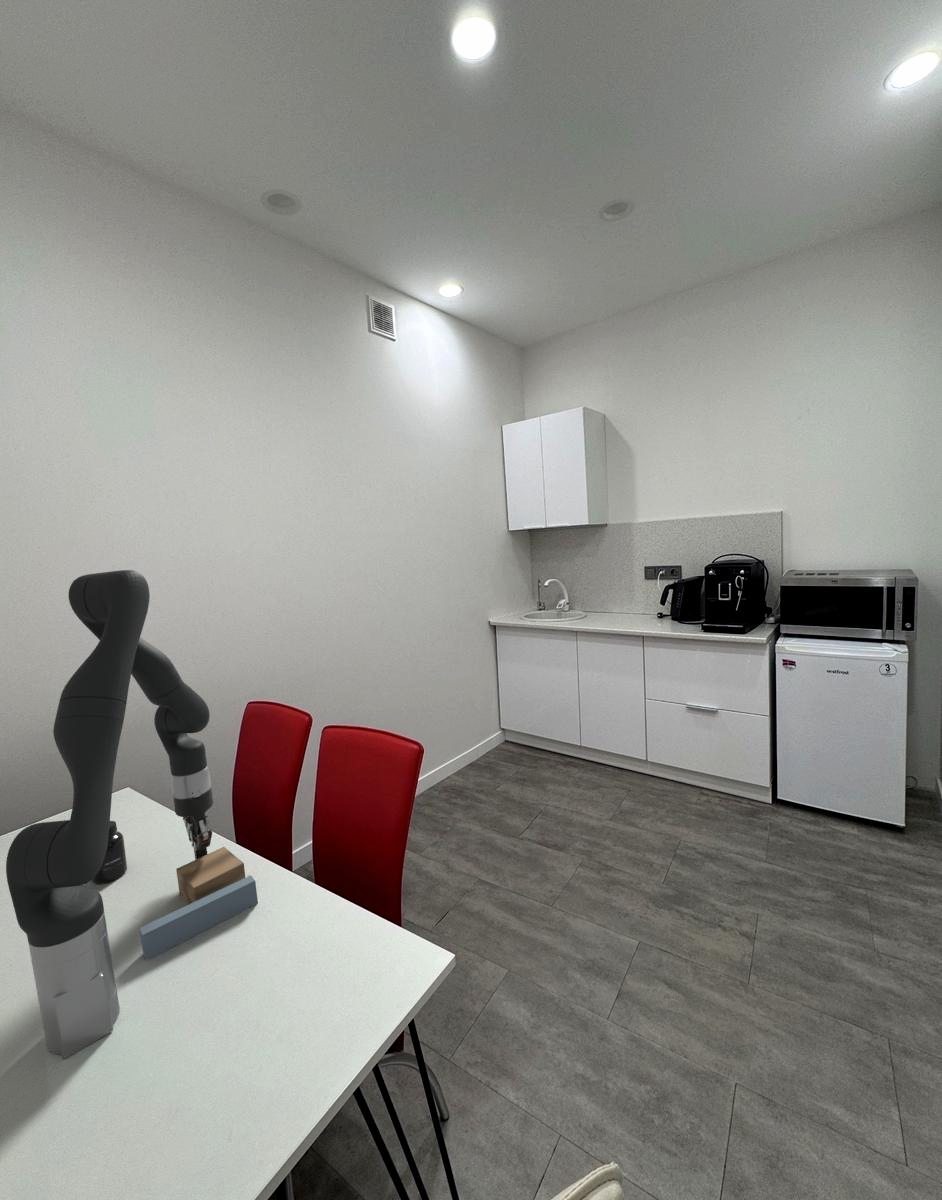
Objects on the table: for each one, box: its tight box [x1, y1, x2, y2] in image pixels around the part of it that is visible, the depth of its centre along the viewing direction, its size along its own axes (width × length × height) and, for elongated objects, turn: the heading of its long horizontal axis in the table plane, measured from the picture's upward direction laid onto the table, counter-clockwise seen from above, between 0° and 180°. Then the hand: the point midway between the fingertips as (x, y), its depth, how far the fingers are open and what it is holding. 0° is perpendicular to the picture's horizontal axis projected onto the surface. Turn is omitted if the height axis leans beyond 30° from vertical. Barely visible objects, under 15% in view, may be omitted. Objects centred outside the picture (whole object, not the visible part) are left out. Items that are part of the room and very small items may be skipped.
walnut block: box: [175, 846, 246, 905], centre depth 112 cm, size 10×10×6 cm
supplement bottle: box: [91, 820, 128, 885], centre depth 120 cm, size 7×7×12 cm
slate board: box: [139, 875, 259, 961], centre depth 102 cm, size 2×20×5 cm, turn 133°
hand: (202, 862), depth 117 cm, fingers closed
